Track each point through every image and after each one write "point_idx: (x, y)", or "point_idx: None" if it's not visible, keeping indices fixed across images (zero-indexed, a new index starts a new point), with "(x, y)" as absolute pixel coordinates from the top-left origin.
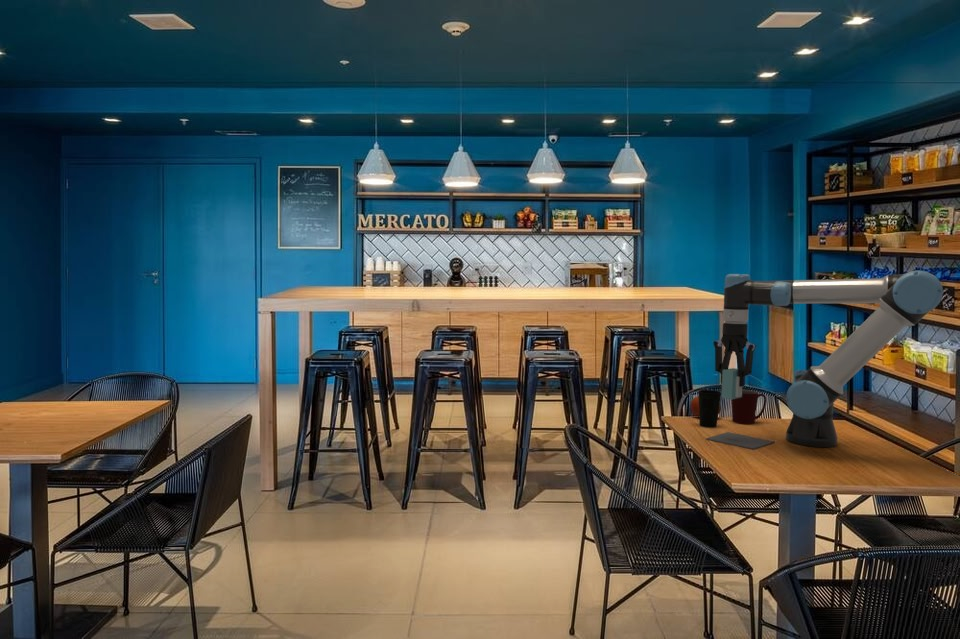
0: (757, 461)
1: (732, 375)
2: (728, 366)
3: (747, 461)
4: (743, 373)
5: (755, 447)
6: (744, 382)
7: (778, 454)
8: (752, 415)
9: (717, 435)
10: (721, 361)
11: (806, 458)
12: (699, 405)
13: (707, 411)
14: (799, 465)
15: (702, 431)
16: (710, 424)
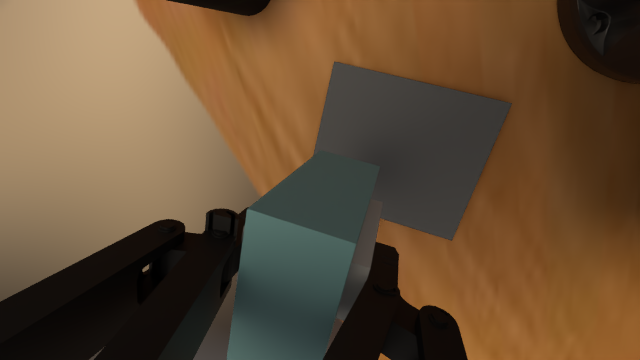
0: (475, 346)
1: None
2: (214, 273)
3: None
4: (387, 345)
5: (455, 227)
6: (396, 268)
7: (530, 255)
8: None
9: (320, 137)
10: (116, 284)
11: (625, 262)
12: None
13: (222, 8)
14: (594, 342)
15: (263, 91)
16: (258, 8)
